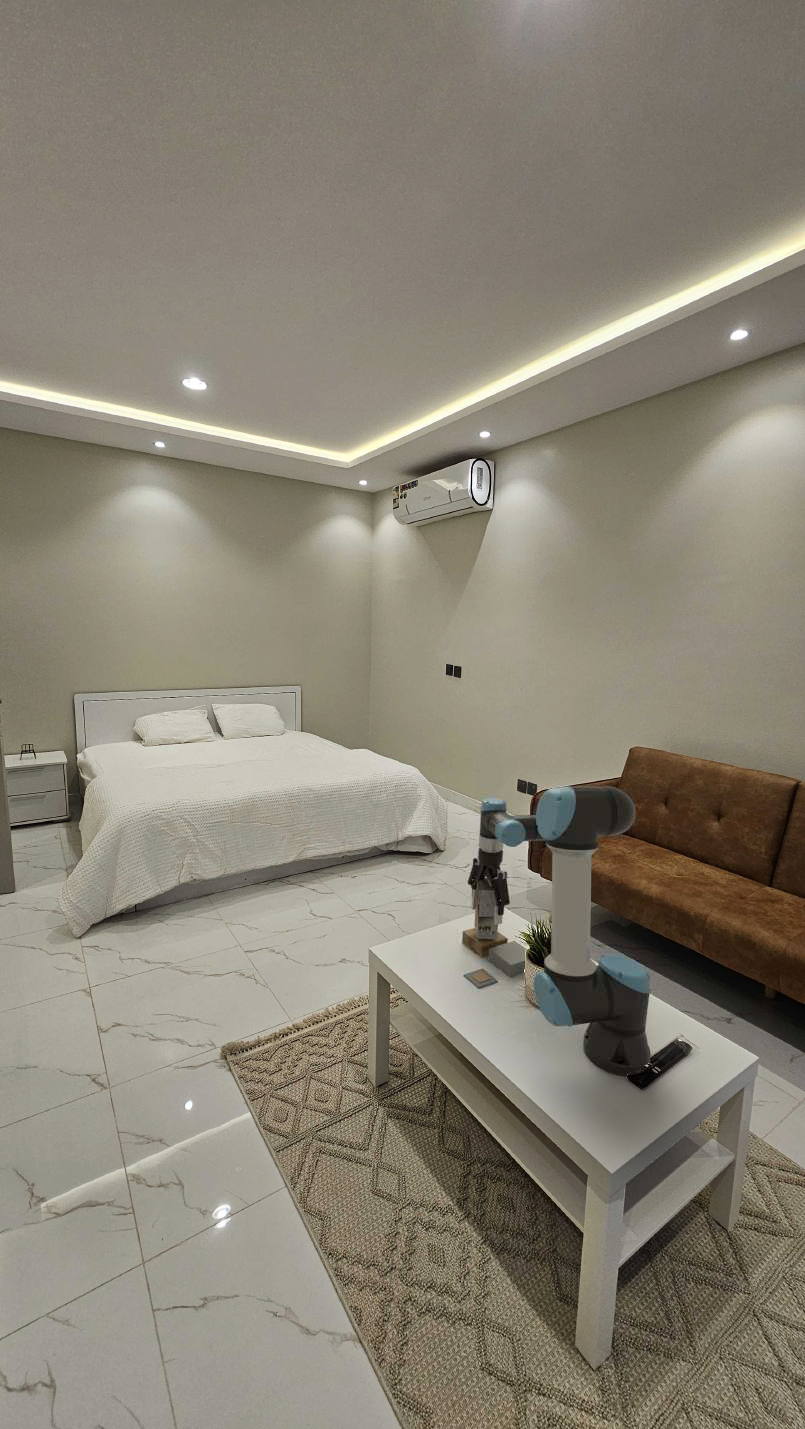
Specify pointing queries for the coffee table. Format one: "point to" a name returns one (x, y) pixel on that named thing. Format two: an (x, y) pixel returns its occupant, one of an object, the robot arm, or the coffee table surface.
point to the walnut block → (481, 942)
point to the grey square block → (508, 958)
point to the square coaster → (480, 978)
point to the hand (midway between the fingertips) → (486, 915)
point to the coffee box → (485, 910)
